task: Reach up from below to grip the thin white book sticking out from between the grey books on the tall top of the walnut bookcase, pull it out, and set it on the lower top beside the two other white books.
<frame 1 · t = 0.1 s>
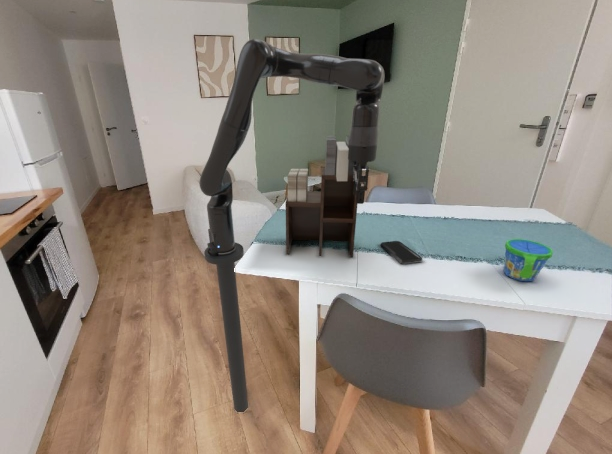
hand: (358, 198, 87), 25 cm above the table, tool pointing down, fingers open, 8 cm apart
bookcase: (319, 247, 112), on the table
white book: (340, 173, 95), point 30 cm above the table, touching bookcase
snack cup: (518, 276, 89), on the table
phone: (399, 253, 105), on the table
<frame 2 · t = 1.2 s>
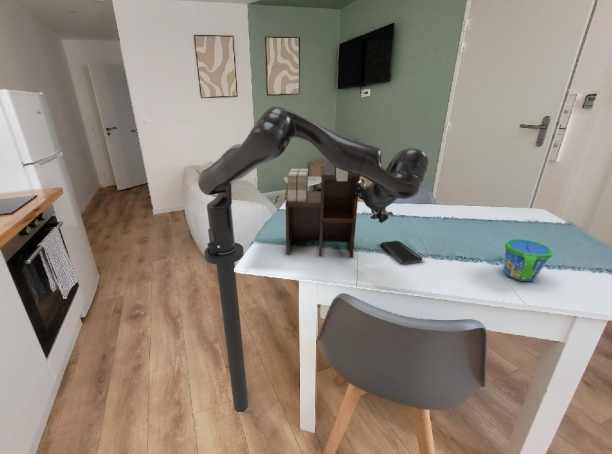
hand: (364, 206, 94), 20 cm above the table, tool tilted 60°, fingers open, 8 cm apart
nothing on the table moved.
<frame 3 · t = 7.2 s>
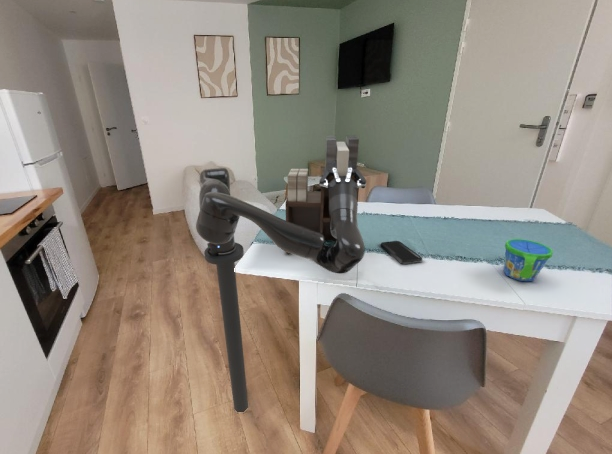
hand: (341, 162, 90), 34 cm above the table, tool pointing upward, fingers closed on white book, 3 cm apart
white book: (340, 173, 95), point 30 cm above the table, touching bookcase, gripper
everything else where it was.
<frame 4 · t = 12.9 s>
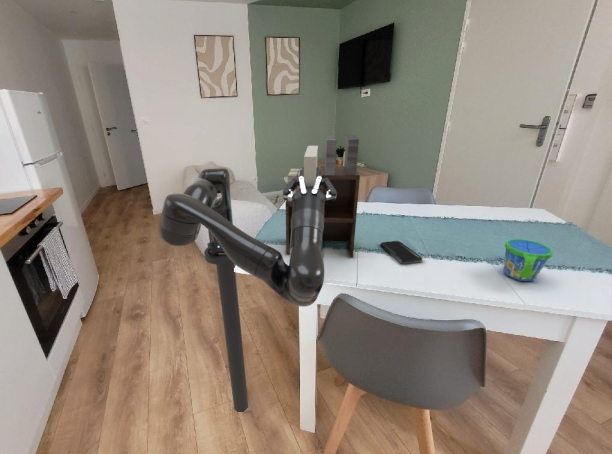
hand: (310, 170, 78), 35 cm above the table, tool pointing upward, fingers closed on white book, 3 cm apart
white book: (311, 182, 83), point 31 cm above the table, touching gripper
everything else where it was.
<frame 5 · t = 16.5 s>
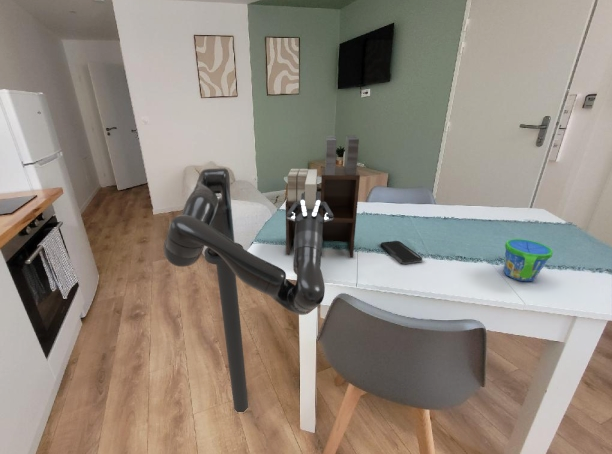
hand: (311, 193, 89), 26 cm above the table, tool pointing upward, fingers closed on white book, 3 cm apart
white book: (311, 203, 94), point 22 cm above the table, touching gripper
everything else where it was.
when the fingers open (25 cm above the table, at t = 19.0 s): white book stays where it is, resting on bookcase.
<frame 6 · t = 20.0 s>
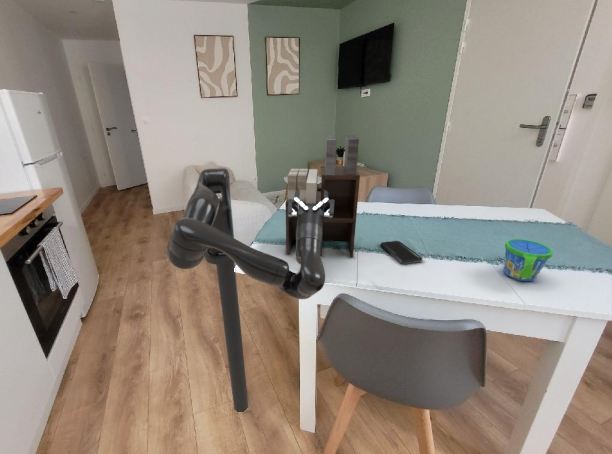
hand: (311, 191, 94), 25 cm above the table, tool pointing upward, fingers open, 8 cm apart
white book: (311, 201, 100), point 20 cm above the table, touching bookcase
everything else where it was.
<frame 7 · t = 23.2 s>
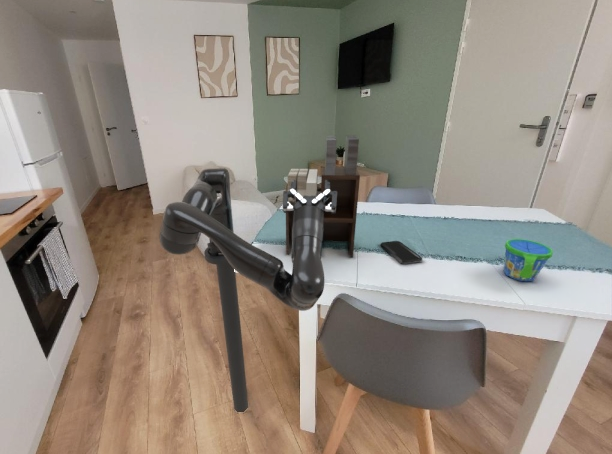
hand: (310, 182, 81), 31 cm above the table, tool pointing upward, fingers open, 8 cm apart
nothing on the table moved.
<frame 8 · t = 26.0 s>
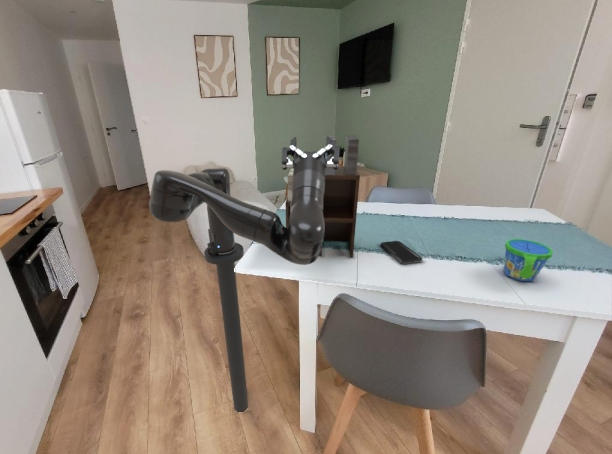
hand: (311, 139, 77), 43 cm above the table, tool pointing upward, fingers open, 8 cm apart
nothing on the table moved.
at the end: white book 0.1 cm from the target spot on the bookcase, point 20.5 cm above the bookcase's base; white book tilted 0°; the gripper is holding nothing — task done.
